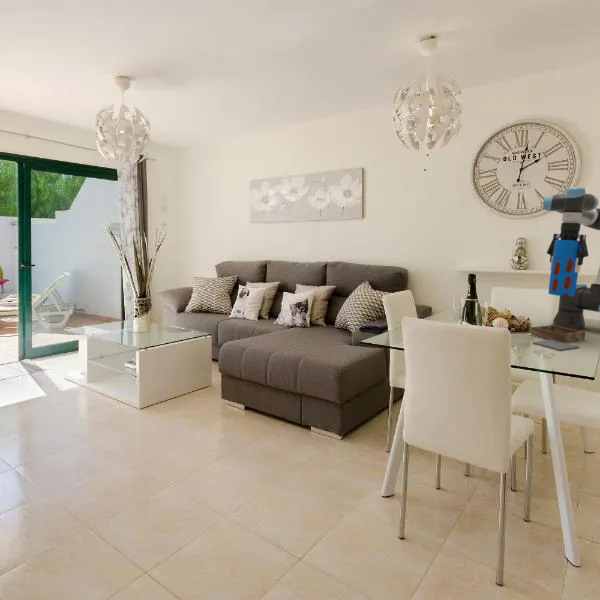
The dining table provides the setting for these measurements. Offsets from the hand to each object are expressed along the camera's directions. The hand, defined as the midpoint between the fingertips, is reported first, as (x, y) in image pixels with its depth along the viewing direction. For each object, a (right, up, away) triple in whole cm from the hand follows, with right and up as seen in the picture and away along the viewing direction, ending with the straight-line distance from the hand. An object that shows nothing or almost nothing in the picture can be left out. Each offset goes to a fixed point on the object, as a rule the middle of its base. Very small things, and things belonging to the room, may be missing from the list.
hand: (564, 271), depth 208 cm
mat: (-7, -34, -6) cm, 35 cm away
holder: (+2, -31, +11) cm, 33 cm away
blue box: (-1, -11, +2) cm, 11 cm away
